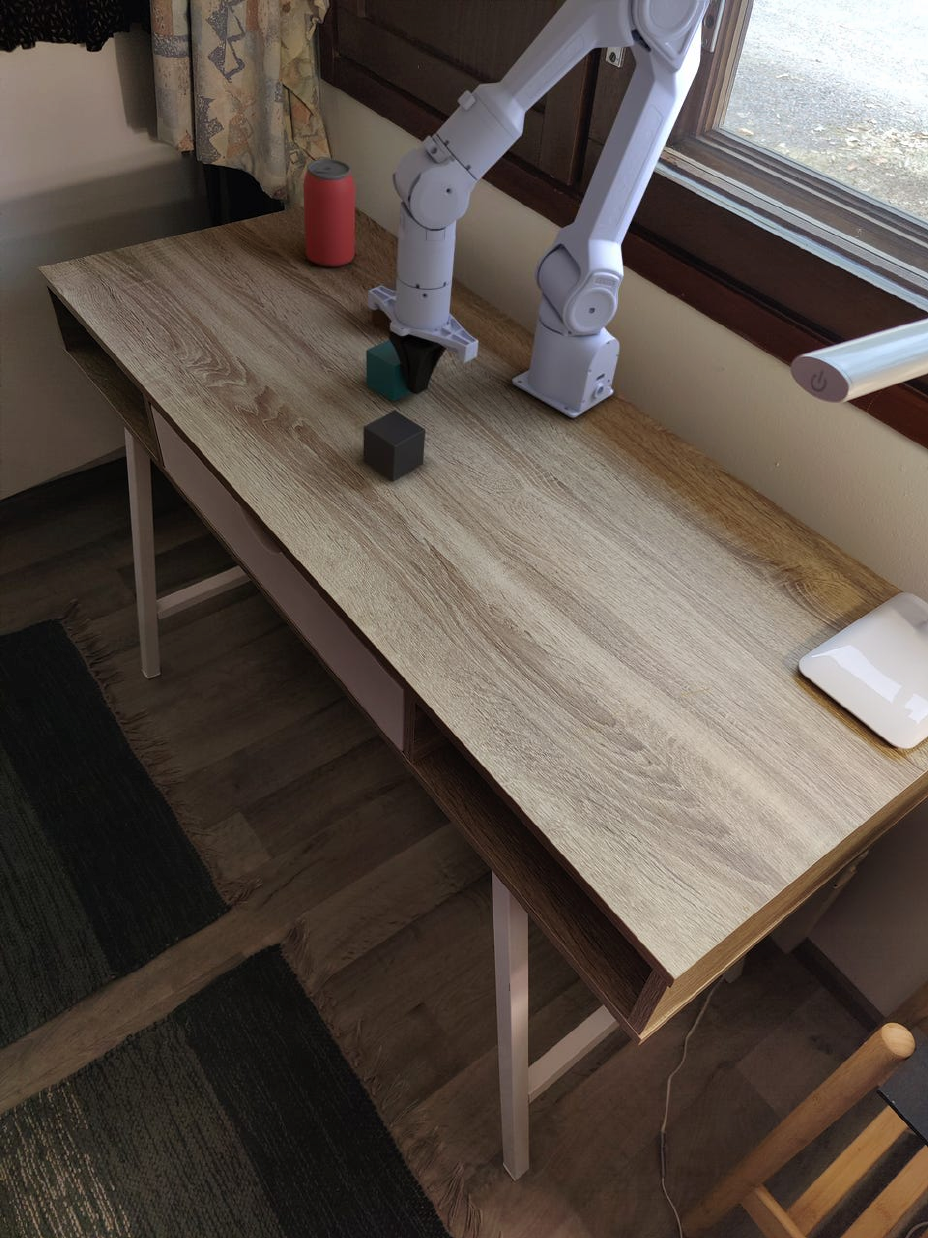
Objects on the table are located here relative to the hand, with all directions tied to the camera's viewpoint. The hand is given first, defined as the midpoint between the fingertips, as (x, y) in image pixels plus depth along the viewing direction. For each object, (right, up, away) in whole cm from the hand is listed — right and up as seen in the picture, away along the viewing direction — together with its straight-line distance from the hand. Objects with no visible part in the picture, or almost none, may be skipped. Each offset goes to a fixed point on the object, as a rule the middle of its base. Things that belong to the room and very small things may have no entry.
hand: (417, 389), depth 108 cm
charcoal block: (-2, -10, -7) cm, 12 cm away
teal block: (-3, +1, +3) cm, 4 cm away
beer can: (-13, +23, +22) cm, 35 cm away
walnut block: (-3, +11, +12) cm, 17 cm away
